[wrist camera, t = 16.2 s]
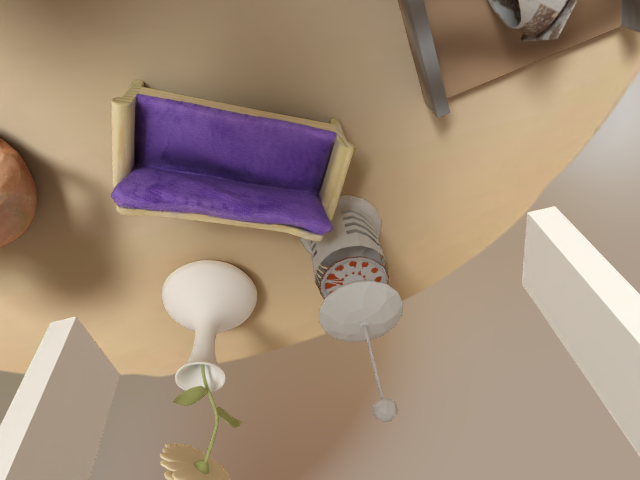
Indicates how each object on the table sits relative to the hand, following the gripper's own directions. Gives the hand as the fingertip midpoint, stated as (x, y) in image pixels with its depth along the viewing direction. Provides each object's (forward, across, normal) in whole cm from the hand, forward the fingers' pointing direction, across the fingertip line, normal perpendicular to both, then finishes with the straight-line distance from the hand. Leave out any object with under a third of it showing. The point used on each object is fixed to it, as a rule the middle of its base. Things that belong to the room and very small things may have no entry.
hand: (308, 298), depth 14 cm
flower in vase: (+35, -15, -28) cm, 47 cm away
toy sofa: (+35, -6, -9) cm, 37 cm away
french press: (+35, +2, -24) cm, 42 cm away
